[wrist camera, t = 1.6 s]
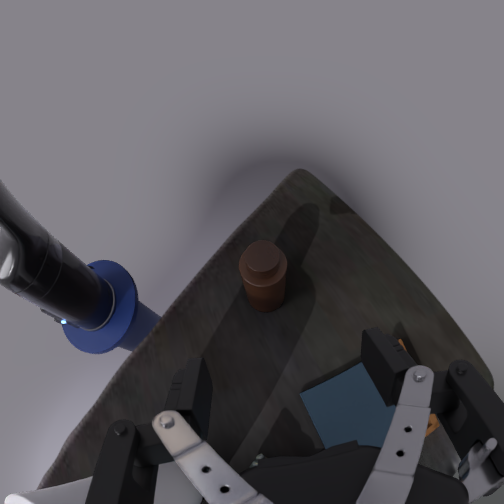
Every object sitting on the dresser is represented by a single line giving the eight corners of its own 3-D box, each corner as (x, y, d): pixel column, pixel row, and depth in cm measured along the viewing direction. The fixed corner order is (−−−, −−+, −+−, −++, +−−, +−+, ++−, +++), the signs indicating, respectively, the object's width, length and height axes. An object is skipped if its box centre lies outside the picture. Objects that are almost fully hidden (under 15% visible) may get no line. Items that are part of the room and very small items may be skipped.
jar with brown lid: (256, 318, 37) (247, 287, 26) (242, 285, 39) (229, 244, 29) (290, 303, 37) (296, 266, 27) (275, 272, 40) (274, 226, 29)
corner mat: (341, 481, 24) (345, 486, 22) (299, 393, 31) (301, 393, 29) (431, 424, 26) (439, 425, 24) (393, 341, 33) (400, 338, 31)
